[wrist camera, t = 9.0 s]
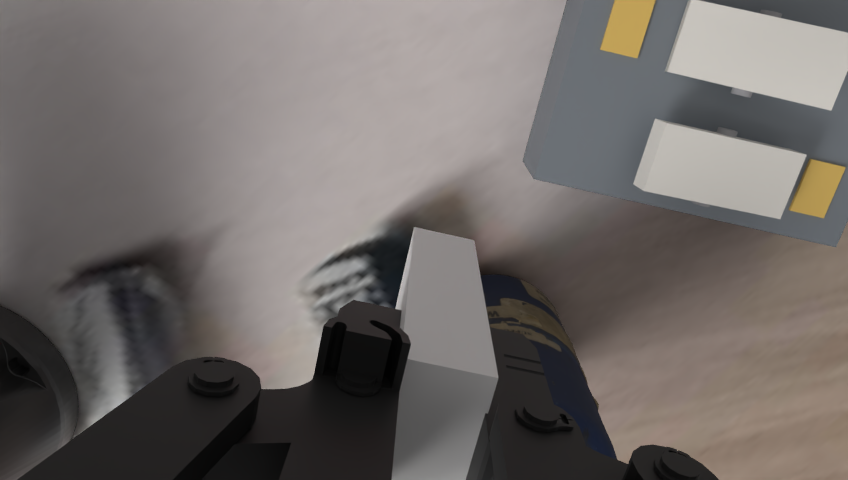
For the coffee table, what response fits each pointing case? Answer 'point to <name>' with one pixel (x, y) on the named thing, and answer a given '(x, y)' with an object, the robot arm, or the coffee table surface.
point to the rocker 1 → (760, 54)
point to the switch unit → (679, 112)
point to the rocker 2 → (718, 169)
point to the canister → (547, 351)
